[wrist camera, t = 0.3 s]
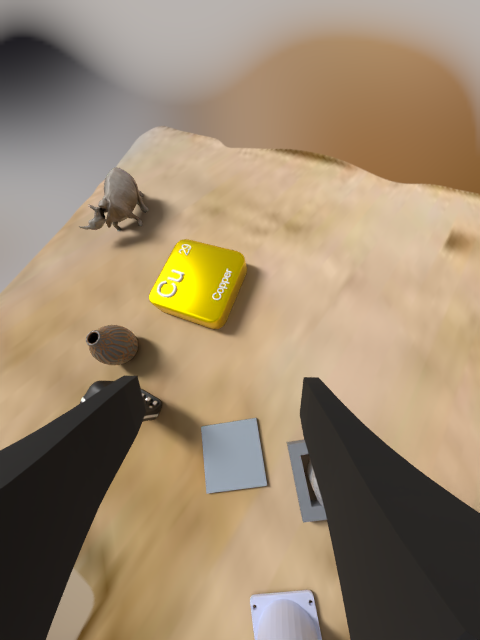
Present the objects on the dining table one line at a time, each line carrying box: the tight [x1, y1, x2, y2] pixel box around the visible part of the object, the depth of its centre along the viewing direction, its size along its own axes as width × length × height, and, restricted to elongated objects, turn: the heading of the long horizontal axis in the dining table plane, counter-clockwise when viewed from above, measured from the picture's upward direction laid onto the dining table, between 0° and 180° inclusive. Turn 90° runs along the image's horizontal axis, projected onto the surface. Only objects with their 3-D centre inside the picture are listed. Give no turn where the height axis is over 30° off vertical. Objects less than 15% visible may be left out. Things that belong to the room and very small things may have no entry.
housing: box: [287, 440, 327, 522], centre depth 31 cm, size 9×9×2 cm
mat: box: [201, 418, 267, 493], centre depth 34 cm, size 9×9×1 cm
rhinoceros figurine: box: [79, 168, 149, 231], centre depth 51 cm, size 8×14×15 cm
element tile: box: [149, 239, 247, 329], centre depth 43 cm, size 15×15×5 cm
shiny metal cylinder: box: [307, 460, 324, 507], centre depth 29 cm, size 5×5×6 cm
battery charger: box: [80, 381, 162, 422], centre depth 34 cm, size 7×4×11 cm, turn 64°
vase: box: [86, 325, 138, 365], centre depth 39 cm, size 7×7×9 cm
